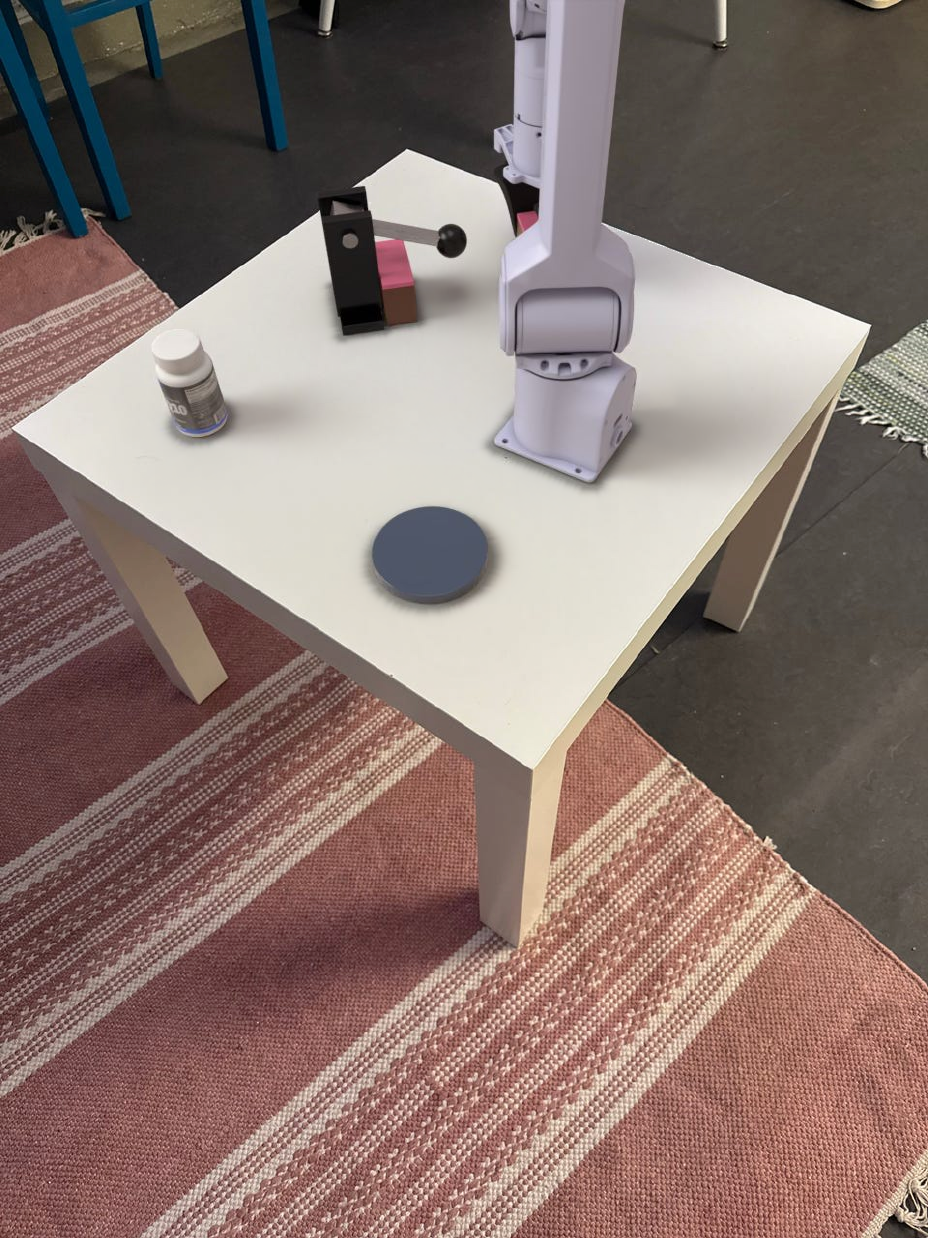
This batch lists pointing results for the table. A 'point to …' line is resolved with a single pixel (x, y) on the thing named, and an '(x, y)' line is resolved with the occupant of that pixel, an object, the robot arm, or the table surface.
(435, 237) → the lever
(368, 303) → the bracket
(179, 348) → the pill bottle
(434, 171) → the table surface
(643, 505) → the table surface
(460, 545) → the plate
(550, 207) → the robot arm
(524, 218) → the cake slice
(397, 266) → the loaf cake
